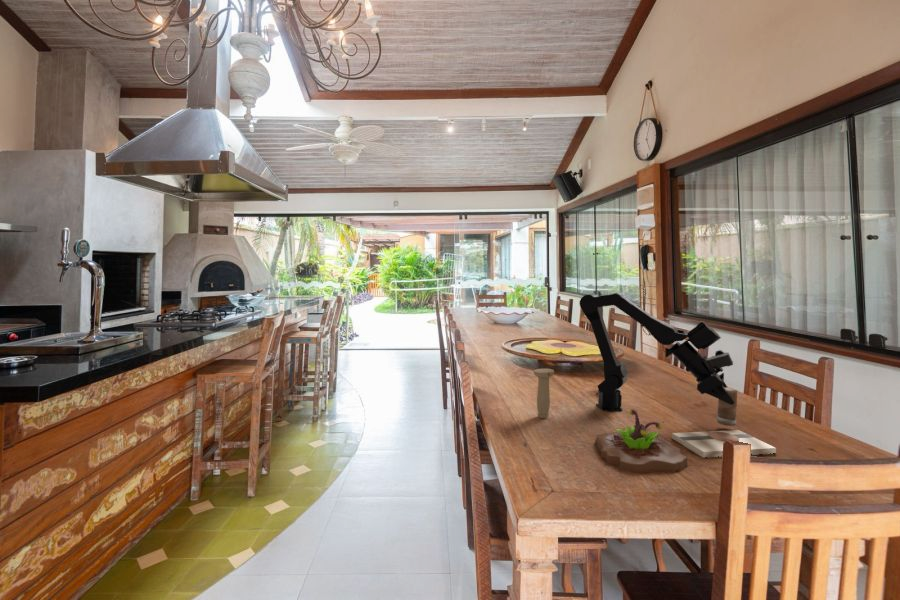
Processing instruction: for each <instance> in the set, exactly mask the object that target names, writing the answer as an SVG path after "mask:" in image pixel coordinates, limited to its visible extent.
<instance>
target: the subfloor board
mask: <svg viewBox="0 0 900 600" xmlns="http://www.w3.org/2000/svg"><path fill="white" fill-rule="evenodd" d="M671 435H672V436H671V439H673V440H674V441H675V442H678V443H679V444H680V445H683V447H685V448H687V449H688V450H690V451H692V452H693V453H694V454H696V455H698V456H700V457H701V458H704V459H705V457H707V458H722V451H723V443H724V442H725V441H727V440H732V441H739V442H743V443H748V444H751V454H752V455H751V456H760V455H759V454H763V455H765V454H764V453H767V454H766V455H774V454H773V453H776V454H777V447H775V446H773V445H771V444H769V443H766V442H765V441H762V440H760V439H758V438H757V437H754V436H752V435H750V434H748V433H745V432H744V431H741V430H739V429H733V430H731V429H729V430H713V431H712V430H711V431H693V432H692V431H689V432H687V431H686V432H672V433H671ZM770 453H771V454H770ZM718 456H719V457H718Z"/></svg>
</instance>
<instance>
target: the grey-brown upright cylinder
mask: <svg viewBox="0 0 900 600" xmlns="http://www.w3.org/2000/svg"><path fill="white" fill-rule="evenodd" d="M727 387H728V386H727ZM727 387H724V388H725V390H726V391H727V392H728V394H729V395H730V397H731V398H732V399H733V401H734V402H735V403H734V404H733V405H730V404H728V403H726V402H724V401H722V400H720V399H718V398H717V399H718V401H717V402H718V403H717V415H716V421H717V422H716V423H718V424H720V425H723V426H729V427H734V426H736V424H737V405H738V393H739V392H738V389H736V388H732V387H728V388H727Z"/></svg>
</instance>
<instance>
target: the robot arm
mask: <svg viewBox="0 0 900 600" xmlns="http://www.w3.org/2000/svg"><path fill="white" fill-rule="evenodd" d="M609 306H614V307H616V308H618V309H619V310H620V311H622V312H623V313H624V314H626V315H627V316H629V317H630V318H631V319H633V320H634V321H635V322H638V324H640V325H641V326H643V327H644V328H645V330H647V331H648V332H649V334H650V335H651V336H652V337H653V338H654V339H655V340H656V341H657V342H658V343H659V344H661V345H663V346H666V347H665V348H664V350H665V357H666V358H668V357H669V356H671V355H673V356H674V357H675V358H676V360H678V361H679V363H680V364H681V365H683V366H684V367H685V371H687V372H689V373H690V374H692V376H693V377H694V378H695V380H696V382H697V385H696V390H697V391H698V392H699V393H700V394H701V395H704V394H706V395H709V396H711V397H714V398H715V399H720V400H722V401H724V402H726V403H728V404H730V405H733V404H734V403H735V402H734V401H733V399H732V398H731V397H730V395H729V394H728V392H727V391H726V390H725V388H724V387H727V388H729V387H728V385H727V384H726V382H725V380H724V379H725V373H724V372H723V371H724V369H723V368H725V367H731V366H733V365H734V361H733V360H732V357H731V355H730V352H726V351H725V352H724V351H723V350H722V349H718V350H716V351H715V355H711V356H710V357H707V356H706V355H704V354H701V353H700V352H699V351H698V350H704V351H705V350H706V349H708V348H709V347H710V346H712V345H713V344H715V343H716V342H718V341H720V339H722V336H720V334H719V333H718V332H717V331H716V330H715V329H714V328H712V327H711V326H709V325H708V324H707V323H706V322H704V321H703V320H701V321H700V322H698V324H697V325H696V326H694V327H693V328H692V329H690V330H689V331H686V330H682V329H678V328H677V327H675V325H672V324H670V323H669V322H666V321H663V320H661V319H658V318H657V317H655V316H653V315H651V314H650V313H648V312H647V311H646V310H644V309H642V307H640V306H638V305H637V304H635V303H634V302H633V301H631V300H630V299H628V298H627V297H626V296H624V294H622V293H620V292H615V293H611V294H603V295H599V294H596V293H590V294H585V295H583V296H581V299H580V300H579V308H580V310H582V312H583V315H584V316H585V317H586V319H587V320H588V321H589V323H590V326H591V329H592V332H593V335H594V338H595V340H596V344H597V346H598V350H599V353H600V355H601V358H602V361H603V362H602V363H603V375H604V380H602V381H601V382H600V383H599V384H598V385H597V389H598V395H597V396H598V397H597V398H598V400H597V402H598V403H595V405H596V407H597V408H599V409H600V410H602V411H604V412H615V411H617V412H618V411H621V412H623V408H622V400H623V399H622V395H623V394H622V393H621V392H622V390H621V391H620V390H618V389H619V388H620V387H621V388H622V386H623V385H624V384H625V383H626V382H627V380H628V374H629V371H628V370H627V367H626V363H625V362H624V361H623V362H620V361H619V359H618V358H617V355H616V352H615V350H614V347H613V344H612V341H611V338H610V337H611V336H610V334H609V332H608V328H607V327H606V323H605V320H604V308H603V307H609ZM672 344H673V345H672ZM670 345H671V346H670ZM669 346H670V347H669ZM720 372H721V374H718V373H720Z"/></svg>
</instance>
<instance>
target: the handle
mask: <svg viewBox="0 0 900 600" xmlns="http://www.w3.org/2000/svg"><path fill="white" fill-rule="evenodd" d="M533 375H534V377H535V376H536V377H537V378H538V381H537V383H538V384H537V394H536V395H537V397H536V407H537V408H536V410H537V417H538V418H539V419H545V420H546V419H547V418H549V414H550V413H549V412H550V406H551V405H550V404H551V397H550V395H551V393H550V392H551V391H550V378H551V377H553V376H554V375H555V370H554V369H551V368H537V369H534V370H533Z"/></svg>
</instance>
